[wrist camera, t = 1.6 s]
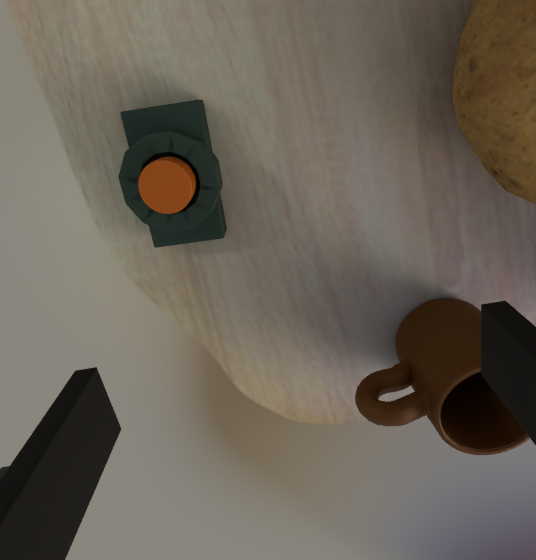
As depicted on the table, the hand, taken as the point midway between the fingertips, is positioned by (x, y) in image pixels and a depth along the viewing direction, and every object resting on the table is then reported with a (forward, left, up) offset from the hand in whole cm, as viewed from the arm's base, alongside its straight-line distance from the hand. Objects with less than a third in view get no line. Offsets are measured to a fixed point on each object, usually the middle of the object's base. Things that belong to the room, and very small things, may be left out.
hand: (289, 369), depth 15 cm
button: (-5, -6, -15) cm, 17 cm away
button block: (-5, -6, -19) cm, 20 cm away
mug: (+11, +10, -19) cm, 24 cm away
